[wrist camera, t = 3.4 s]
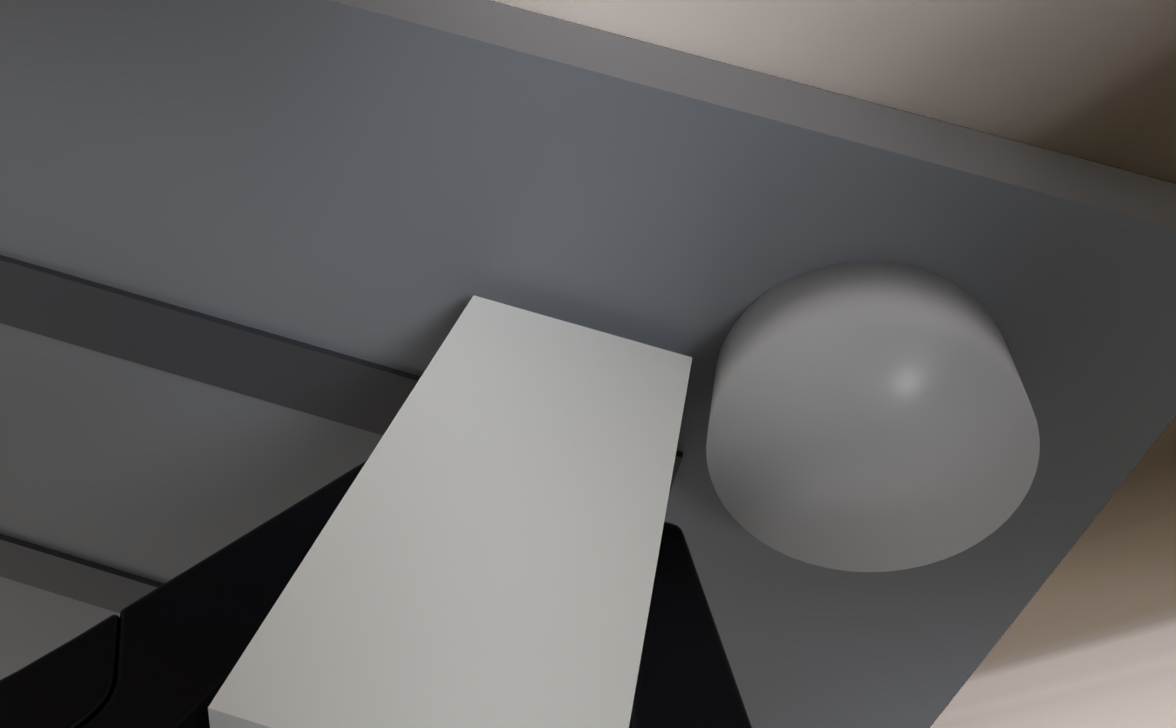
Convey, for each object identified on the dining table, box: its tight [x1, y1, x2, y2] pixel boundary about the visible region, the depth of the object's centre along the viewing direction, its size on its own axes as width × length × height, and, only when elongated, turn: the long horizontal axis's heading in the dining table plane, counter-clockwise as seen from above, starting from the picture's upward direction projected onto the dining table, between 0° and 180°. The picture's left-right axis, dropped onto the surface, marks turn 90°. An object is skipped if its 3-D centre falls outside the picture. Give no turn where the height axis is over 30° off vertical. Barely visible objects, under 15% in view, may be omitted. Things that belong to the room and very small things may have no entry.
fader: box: [208, 295, 692, 728], centre depth 8 cm, size 2×4×5 cm, turn 168°
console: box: [0, 0, 1176, 728], centre depth 12 cm, size 22×14×4 cm, turn 78°
